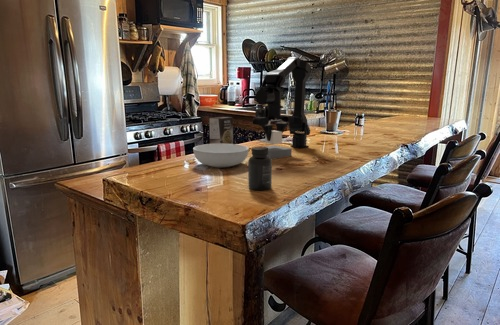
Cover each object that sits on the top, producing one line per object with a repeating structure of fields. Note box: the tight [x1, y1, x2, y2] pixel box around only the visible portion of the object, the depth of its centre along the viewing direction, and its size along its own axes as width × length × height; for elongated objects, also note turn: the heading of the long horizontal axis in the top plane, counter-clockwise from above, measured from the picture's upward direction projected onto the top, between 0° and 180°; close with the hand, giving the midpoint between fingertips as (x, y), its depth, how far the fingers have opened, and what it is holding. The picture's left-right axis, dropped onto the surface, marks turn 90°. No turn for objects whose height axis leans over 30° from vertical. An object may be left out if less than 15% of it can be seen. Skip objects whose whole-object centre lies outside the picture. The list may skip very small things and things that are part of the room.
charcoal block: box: [266, 144, 293, 160], centre depth 155 cm, size 11×11×4 cm
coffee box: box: [209, 116, 234, 144], centre depth 157 cm, size 9×6×16 cm
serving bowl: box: [192, 143, 250, 169], centre depth 137 cm, size 21×21×7 cm
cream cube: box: [264, 129, 283, 145], centre depth 154 cm, size 5×5×5 cm
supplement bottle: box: [247, 146, 273, 192], centre depth 106 cm, size 7×7×12 cm
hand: (273, 140), depth 154 cm, fingers closed on cream cube, 5 cm apart
